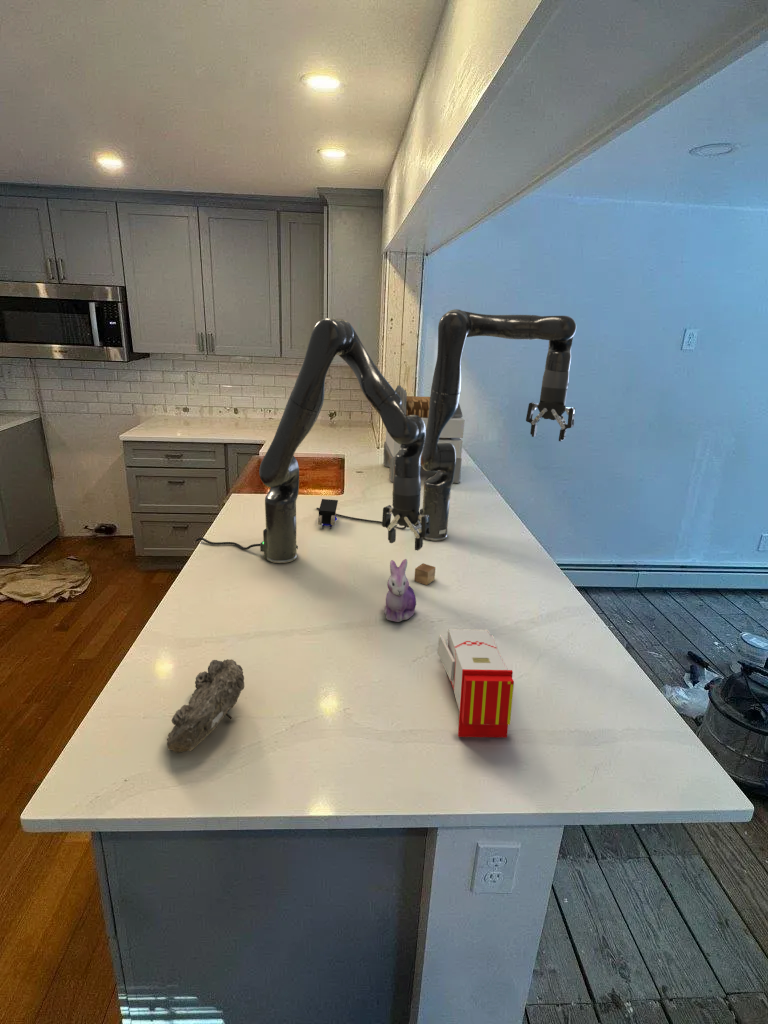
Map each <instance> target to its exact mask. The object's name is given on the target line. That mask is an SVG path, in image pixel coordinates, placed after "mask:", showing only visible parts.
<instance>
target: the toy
mask: <svg viewBox="0 0 768 1024" xmlns="http://www.w3.org/2000/svg"><path fill="white" fill-rule="evenodd" d="M446 640H447V643H446V641H445V639H444V636H443V635H442V634H439V637H438V646H437V656H438V657H439V659H440V661H441V663H442V666H443V668H444V670H445V672H446V674H447V677H448V679H449V681H450V684H451V687H452V690H453V693H454V697H455V701H456V705H457V708H458V711H459V714H458V715H459V716H458V730H457V731H458V732H457V737H458V738H508V731H509V726H510V725H511V717H512V707H513V697H514V696H513V695H514V684H515V680H514V679H513V673H514V671H513V670H512V669H508V667H507V665H506V662H505V661H504V659H503V658H502V655H501V653H500V651H499V649H498V647H497V643H496V639H495V637H494V635H493V634H491V632H490V631H489V629H467V628H466V629H465V628H463V629H461V628H460V629H459V628H448V630H447V639H446Z"/></svg>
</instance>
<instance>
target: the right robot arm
mask: <svg viewBox="0 0 768 1024" xmlns="http://www.w3.org/2000/svg"><path fill="white" fill-rule="evenodd" d="M576 331H577V324H576V321H575V320H574V318H573V317H571V316H570V315H538V314H536V315H535V314H483V313H477V312H471V311H466V310H461V309H457V308H456V309H455V308H454V309H450V310H448V311H447V312H446V313H444V314H443V315H442V316H441V318H439V322H438V327H437V356H436V361H435V362H436V363H435V367H434V370H433V377H432V381H431V387H430V395H429V397H430V405H429V414H428V421H427V427H426V436H425V442H424V447H423V451H422V455H421V464H422V466H421V468H422V469H423V470H424V471H426V472H436V473H435V474H434V475H432V476H430V477H428V478H427V479H425V480H424V482H423V493H422V496H423V497H422V506H421V508H420V509H419V513H420V514H421V515H427V514H428V515H429V516H430V535H428V536H426V537H425V538H423V540H426V541H432V542H440V541H444V540H446V539H447V538H448V525H449V517H450V516H449V514H450V504H451V494H452V493H451V491H452V486H453V484H454V483H453V477H454V470H455V463H456V451H455V448H454V446H453V445H452V444H451V443H438V440H439V437H440V434H441V432H442V430H443V428H444V427H445V425H446V424H447V423H448V421H449V420H450V419H451V417H452V416H453V414H454V413H455V411H456V410H457V407H458V403H459V404H460V396H461V390H462V389H461V387H462V370H461V369H462V367H461V366H462V365H461V364H462V363H461V362H462V355H463V350H464V346H465V343H466V339H467V338H472V337H473V338H474V337H493V338H499V339H505V340H506V339H507V340H515V341H516V340H517V341H518V340H519V341H520V340H521V341H535V340H541V341H548V349H547V350H548V351H547V354H546V358H545V365H544V371H543V376H542V381H541V388H540V389H541V390H540V395H539V401H538V403H537V402H534V401H532V402H529V403H528V406H527V411H526V418H525V421H526V422H527V423H529V424H530V433H529V434H530V435H531V437H532V438H535V437H537V432H538V425H539V422H540V421H541V420H542V419H544V420H551V421H556V422H557V424H558V425H559V427H560V429H559V436H558V442H563V441H564V440H565V439H566V436H567V430H568V429H571V428H574V425H575V419H576V418H575V417H576V408H575V407H574V406H572V407H566V401H567V395H568V394H567V393H568V387H569V380H570V368H571V361H572V347H573V346H572V345H573V340H574V336H575V334H576ZM536 410H538V412H539V413H538V414H537V415H536V416H535V418H534V413H535V411H536ZM564 413H566V415H567V422H566V419H565V417H564V415H563V414H564ZM319 508H320V507H316V508H315V509H316V510H318V511H319ZM336 517H340V518H345V519H350V520H353V521H354V520H355V521H362V522H368V523H376V524H382V520H372V519H365V518H358V517H354V516H348V515H343V514H339V513H336ZM418 521H419V523H420V519H419V520H418ZM420 525H421V523H420ZM414 527H416V525H415V524H414ZM406 528H407V527H405V526H401V527H399V526H396V527H395V529H398V530H406Z"/></svg>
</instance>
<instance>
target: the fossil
mask: <svg viewBox="0 0 768 1024" xmlns="http://www.w3.org/2000/svg"><path fill="white" fill-rule="evenodd" d="M243 670H244V669H243V667H242V665H240V664H237V662H236V661H235V660H234V659H232V658H231V659H227V658H226V659H224V660H223V661H222V660H217V659H212V660H211V661H210V663H209V665H208V666H207V671H201V672H199V673H198V674H197V675H196V676H195V680H194V684H195V685H194V687H195V689H194V690H193V693H192V694H191V697H190V698H189V700H188V704H184V705H182V706H181V707H180V709H177V710H176V711H175V713H174V715H173V716H172V718H171V723H172V724H173V727H172V730H171V731H170V732H168V734H167V738H166V741H167V742H166V745H167V749H168V750H169V751H173V752H174V753H176V754H178V753H182V752H188V751H189V752H192V751H193V750H195V748H196V747H197V746H199V744H200V743H201V742H203V741H204V740H205V739H206V738H207V737H208V736H209V735H210V734H211V733H212V732H214V730H215V729H217V727H218V726H219V724H220V722H221V721H222V720H223V719H224V718H225V716H226V717H227V719H229V720H233V717H232V715H230V714H229V710H230V709H231V708H234V706H235V704H236V703H237V702H238V699H239V697H240V695H241V693H242V691H243V690H245V689H244V688H245V675H244V671H243Z"/></svg>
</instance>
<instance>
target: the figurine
mask: <svg viewBox="0 0 768 1024" xmlns="http://www.w3.org/2000/svg"><path fill="white" fill-rule="evenodd" d="M407 567H408V559H406V558H404V559H403V560H402V561H401V563H400V565H399V566H398V565H397V563H396V562H395V561H394V560H393V559H391V560H390V561H389V570H390V576H389V578H388V579H387V589H388V591H387V592H386V594H385V595H386V596H385V607H384V615H385V616H386V620H387V621H391V622H395V623H400V622H402V621H406V620H409V619H410V618H411V617H413V616H414V615H415V610H416V606H417V597H416V593H415V591H414V590H413V587H411V586H410V582H409V579H408V577H407V574H406V571H407Z"/></svg>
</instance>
